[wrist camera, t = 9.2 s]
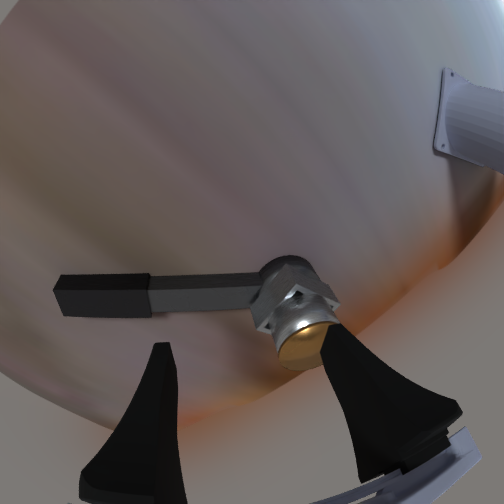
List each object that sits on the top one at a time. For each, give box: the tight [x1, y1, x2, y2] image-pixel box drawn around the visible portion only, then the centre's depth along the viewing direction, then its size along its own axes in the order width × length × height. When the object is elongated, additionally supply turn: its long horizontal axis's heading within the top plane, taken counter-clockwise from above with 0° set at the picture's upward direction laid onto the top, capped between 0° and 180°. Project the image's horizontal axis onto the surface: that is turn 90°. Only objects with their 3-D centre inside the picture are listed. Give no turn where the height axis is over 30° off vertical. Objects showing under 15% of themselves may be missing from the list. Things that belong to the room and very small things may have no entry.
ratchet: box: [53, 255, 321, 318], centre depth 20 cm, size 22×5×4 cm, turn 86°
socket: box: [250, 264, 341, 371], centre depth 19 cm, size 5×5×6 cm
